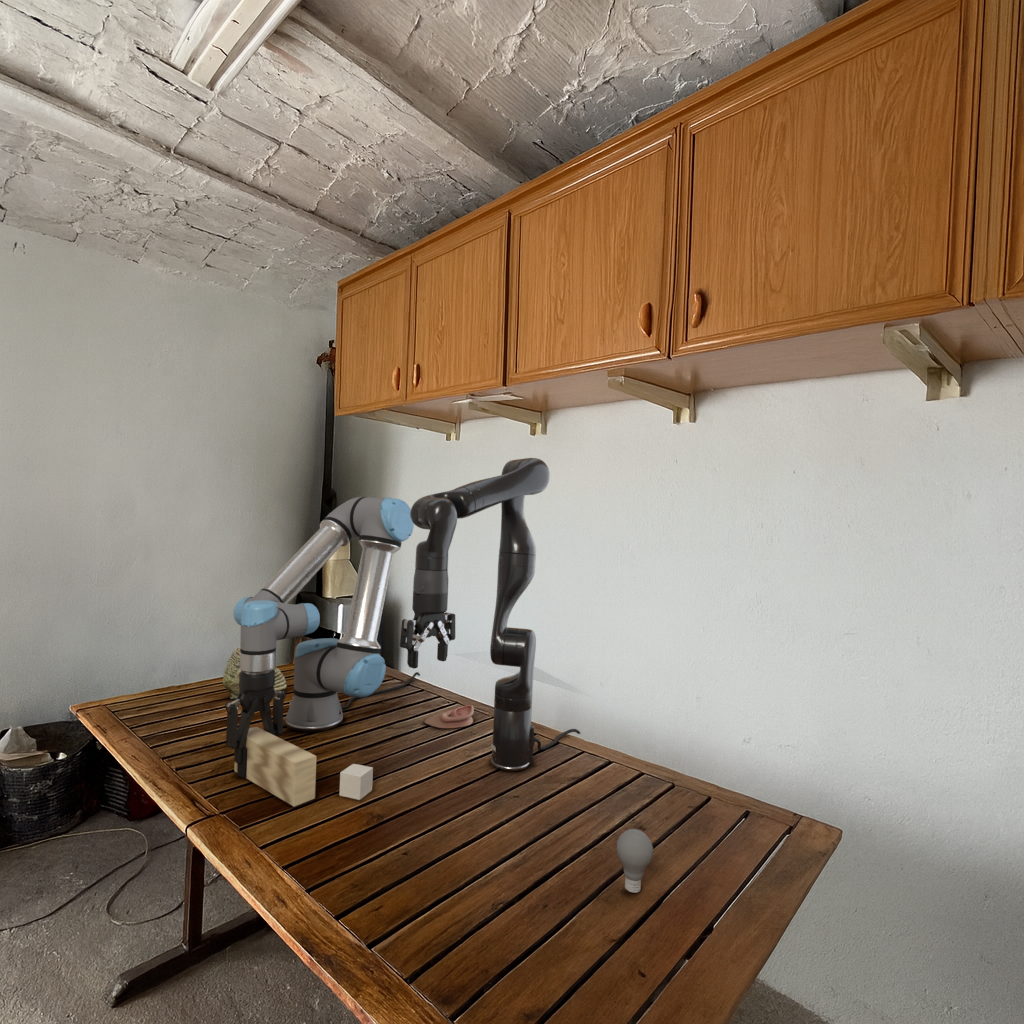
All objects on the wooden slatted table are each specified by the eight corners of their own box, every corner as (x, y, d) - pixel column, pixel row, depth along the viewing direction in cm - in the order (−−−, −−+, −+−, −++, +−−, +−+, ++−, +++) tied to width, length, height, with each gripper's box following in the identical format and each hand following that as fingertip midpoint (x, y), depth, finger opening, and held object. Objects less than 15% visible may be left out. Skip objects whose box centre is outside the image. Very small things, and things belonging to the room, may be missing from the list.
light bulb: (610, 879, 108) (613, 822, 108) (644, 879, 109) (647, 822, 109) (619, 902, 102) (622, 840, 102) (655, 901, 103) (658, 840, 103)
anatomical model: (421, 711, 177) (434, 699, 188) (420, 725, 177) (433, 712, 188) (466, 717, 174) (477, 704, 186) (466, 731, 174) (476, 717, 186)
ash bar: (234, 771, 144) (235, 732, 144) (255, 764, 148) (256, 726, 148) (293, 806, 129) (295, 763, 129) (315, 798, 133) (316, 755, 133)
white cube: (352, 785, 139) (353, 763, 139) (372, 790, 138) (373, 767, 138) (339, 795, 135) (340, 772, 135) (359, 800, 133) (360, 776, 133)
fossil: (218, 695, 195) (220, 647, 195) (278, 685, 208) (279, 640, 207) (228, 703, 189) (230, 653, 188) (289, 692, 201) (290, 645, 201)
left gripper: (284, 660, 152) (281, 755, 153) (209, 674, 138) (206, 779, 139) (302, 666, 148) (298, 764, 148) (226, 681, 134) (223, 790, 134)
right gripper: (441, 585, 145) (438, 655, 145) (393, 590, 134) (390, 666, 134) (465, 589, 140) (462, 661, 140) (418, 594, 129) (414, 673, 129)
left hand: (253, 771), depth 143 cm, fingers closed on ash bar, 5 cm apart
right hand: (427, 664), depth 137 cm, fingers open, 8 cm apart
